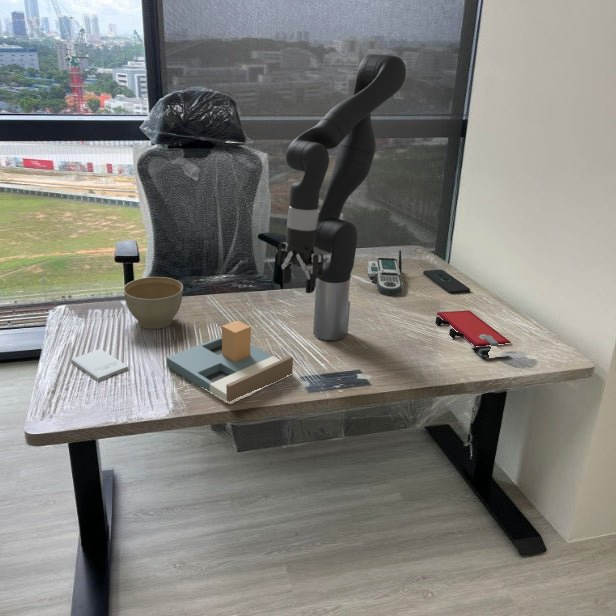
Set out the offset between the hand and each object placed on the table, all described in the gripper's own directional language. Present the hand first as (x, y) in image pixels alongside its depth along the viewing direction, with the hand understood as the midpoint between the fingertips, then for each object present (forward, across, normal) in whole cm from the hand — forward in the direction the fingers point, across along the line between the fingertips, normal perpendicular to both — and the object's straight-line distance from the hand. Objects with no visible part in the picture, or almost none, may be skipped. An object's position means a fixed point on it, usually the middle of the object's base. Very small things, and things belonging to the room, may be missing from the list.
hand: (297, 287), depth 153 cm
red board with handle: (+16, -25, -47) cm, 56 cm away
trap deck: (+19, +2, +19) cm, 27 cm away
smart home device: (+14, +4, -76) cm, 78 cm away
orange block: (+16, +4, +16) cm, 23 cm away
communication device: (+15, +17, -59) cm, 63 cm away
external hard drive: (+21, +24, +42) cm, 53 cm away
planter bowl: (+19, +38, +19) cm, 46 cm away
